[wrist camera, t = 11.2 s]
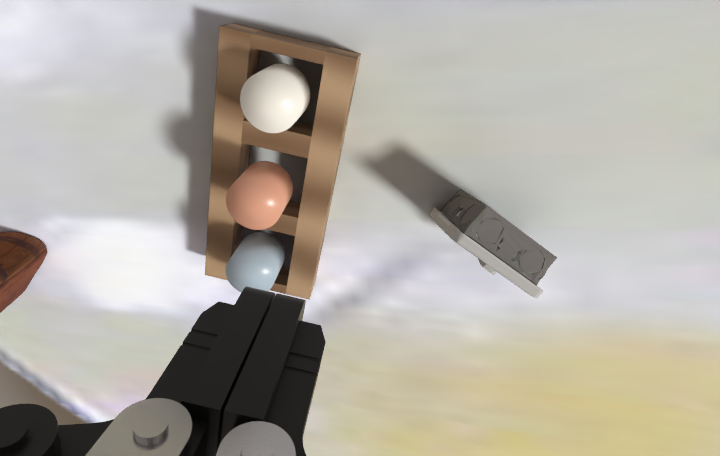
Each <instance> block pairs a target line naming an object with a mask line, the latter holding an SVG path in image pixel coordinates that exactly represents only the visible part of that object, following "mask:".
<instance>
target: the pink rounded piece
mask: <svg viewBox="0 0 720 456" xmlns="http://www.w3.org/2000/svg"><path fill="white" fill-rule="evenodd" d="M292 193H293V184H292V180H291V178H290V176H289V174H288V173H287V172H286V171H285V170H284V169H283V168H282V167H281V166H279V165H278V164H275V163H273V162H269V161H259V162H256V163H253V164H252V165H250V166H249V167H248V168H247V169H246V170H245V171H244V172H243V173H242V174H241V176H240V177H239V178H238V179H237V180H236V181H235V182H234V183H233V184H232V185H231V187H230V188H229V190H228V192H227V195H226V205H227V209H228V211H229V213H230V215H231V216H232V218H233V219H234V220H235V221H236V222H238V223H239V224H240V225H242V226H244V227H246V228H249V229H253V230H263V229H267V228H269V227H271V226H273V225H274V224H275V223H276V222H277V221H278V219H279V218H280V216H281V214H282V212H283V211H284V209H285V207H286V205H287V204H288V202H289V200H290V199H291V196H292Z"/></svg>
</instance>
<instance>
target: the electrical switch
mask: <svg viewBox="0 0 720 456" xmlns="http://www.w3.org/2000/svg"><path fill="white" fill-rule="evenodd" d="M485 205H486V204H484V203H482V202H481V201H479V200H477V199H476V198H474V197H473V196H471V195H469V194H468V193H466V192H465V191H463V190H461V189H460V190H459V191H458V192H457V194H456V195H455V196H454V198H453V199H451V200H450V201H449V202H448V203H447V205H446V206H445V208H444V209H443V210H442V211H439V210H438V209H437V208H435V207H434V208H433V210H432V211H431V213H430V214H429V215H430V216H431V217H432V219H433V220H434V221H435V222H436V223H437V224H438V225H439V226H440V227H441V229H442V230H443V231H444V232H445V233H446V234H447V235H448V236H449V237H450V238H451V239H452V240H454V241H455V242H456V243H458V244H459V245H460V246H462V247H463V248H465V249H466V250H467V251H469V252H470V253H472V254H473V255H474V256H476V257H477V258H478V260H479V262H480V264H481V265H482V267H484V268H485V269H486V270H488V271H489V272H490V273H492V274H495V273H496V272H498V273H500V274H501V275H503V276H504V277H505V278H507V279H508V280H510V281H511V282H512V283H514V284H515V285H517V286H518V287H519V288H521V289H522V290H524V291H525V292H526V293H528V294H529V295H531V296H533V297H534V298H538V297H539V296H540V295H541V294H542V293H543V290H541V289H540V288H539V287H537V284H538V282H539V281H540V279H541V278H542V277H543V276H544V275H545V273H546V271H547V269H548V268H549V267H550V265H551V264H552V263H553V262H554V261H555V259H556V258H557V257H556V256H554V255H553V254H551V253H550V252H549V251H547V250H546V249H545V248H543V247H542V246H541V245H539V244H538V243H537V242H535V241H534V240H533V239H531V238H530V237H529V236H527V235H526V234H525V233H523V232H522V231H521V230H519V229H518V228H517V227H515V226H514V225H513V224H511V223H510V222H509V221H507V220H506V219H505V218H503V217H502V216H501V215H499V214H498V213H496V212H495V211H494V210H492V209H491V208H490V207H488V206H486V207H485Z"/></svg>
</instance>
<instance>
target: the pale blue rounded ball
mask: <svg viewBox="0 0 720 456" xmlns="http://www.w3.org/2000/svg"><path fill="white" fill-rule="evenodd" d="M284 260H285V250H284V247H283V246H282V244H281V243H280V241H279V240H278V239H276V238H275V237H274V236H272V235H270V234H267V233H263V232H255V233H251V234H249V235H247V236H246V237H245V238H244V239H243V240H242V242H241V243H240V245H239V246H238V248H237V249H236V251H235V252H234V254H233V255H232V257H231V258H230V260H229V261H228V263H227V265H226V276H227V279H228V281H229V282H230V284H231V285H232V286H233V287H234V288H235V289H237V290H238V291H240V292H242V291H243V289H244V288H245V287H246V286H247V287H251V288H255V289H260V290H264V291H269V290H270V289H271V288H272V286H273V284H274V282H275V280H276V278H277V276H278V273H279V271H280V269H281V267H282V265H283V263H284Z"/></svg>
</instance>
